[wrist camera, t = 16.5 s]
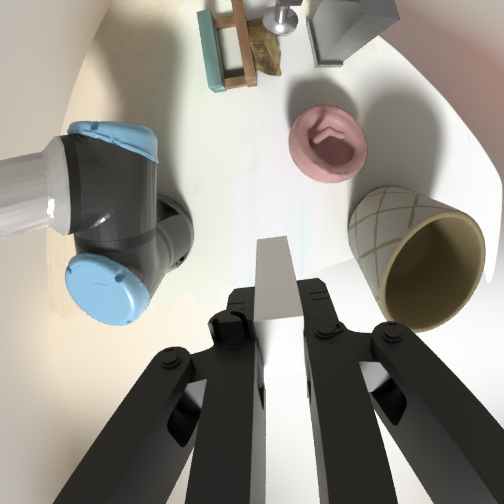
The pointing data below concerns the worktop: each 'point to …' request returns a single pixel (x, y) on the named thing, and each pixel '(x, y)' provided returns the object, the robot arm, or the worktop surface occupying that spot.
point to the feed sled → (212, 48)
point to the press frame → (345, 27)
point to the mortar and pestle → (327, 144)
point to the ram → (279, 20)
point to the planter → (416, 256)
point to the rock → (264, 48)
